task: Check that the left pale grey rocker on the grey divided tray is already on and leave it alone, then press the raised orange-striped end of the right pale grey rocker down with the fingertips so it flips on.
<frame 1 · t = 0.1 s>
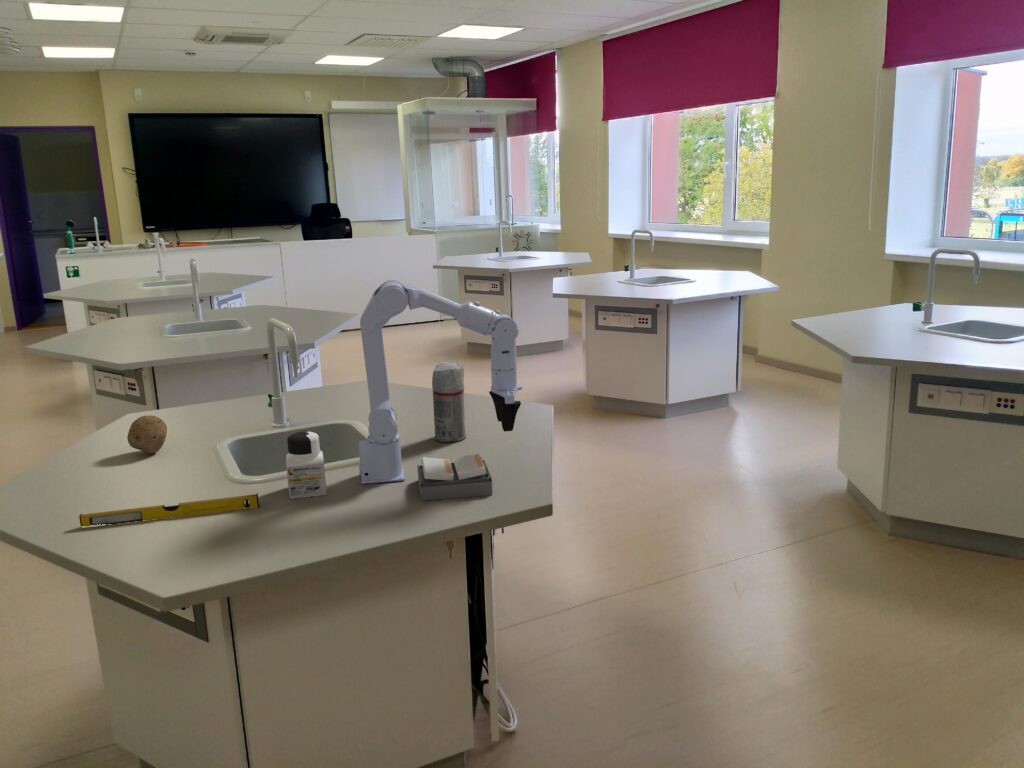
hand: (505, 425, 182), 10 cm above the countertop, tool pointing down, fingers open, 7 cm apart
rocker right: (469, 465, 172), point 5 cm above the countertop, hinge at -10.0°
grey divided tray: (454, 487, 173), on the countertop
brown potato: (150, 454, 198), on the countertop
container: (307, 491, 172), on the countertop
spirit level: (173, 519, 161), on the countertop
spray can: (450, 438, 206), on the countertop
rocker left: (437, 468, 171), point 5 cm above the countertop, hinge at 10.0°
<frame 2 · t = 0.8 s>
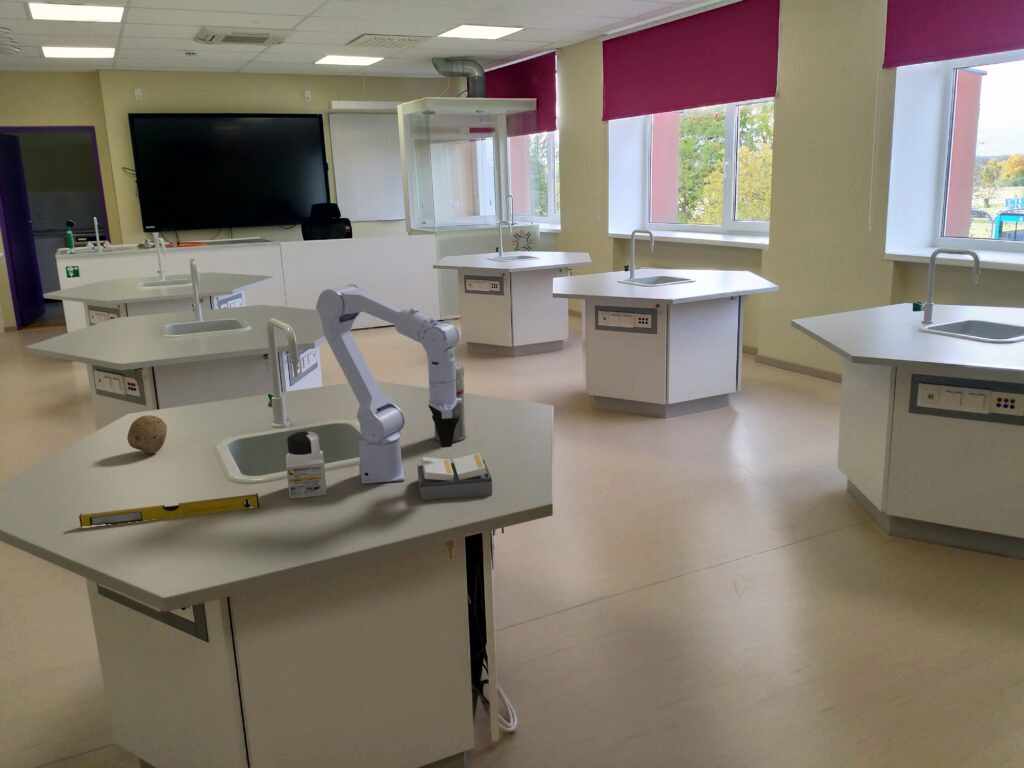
hand: (444, 441, 171), 10 cm above the countertop, tool pointing down, fingers open, 7 cm apart
nothing on the countertop moved.
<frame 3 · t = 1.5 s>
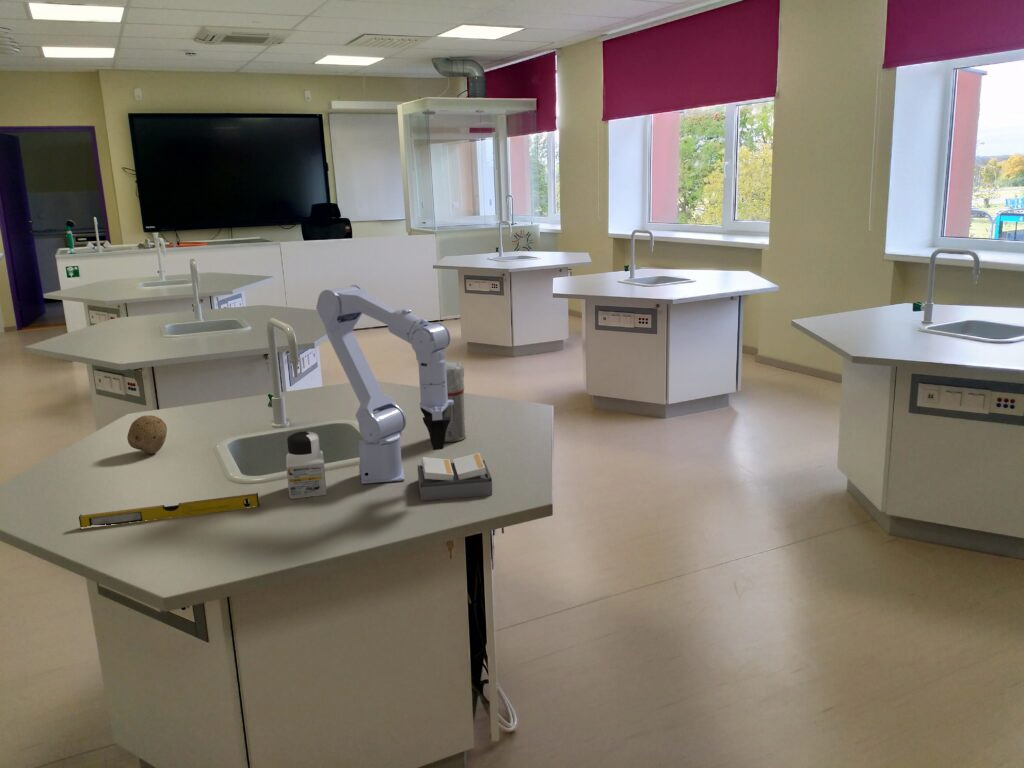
hand: (436, 443, 169), 10 cm above the countertop, tool pointing down, fingers open, 7 cm apart
nothing on the countertop moved.
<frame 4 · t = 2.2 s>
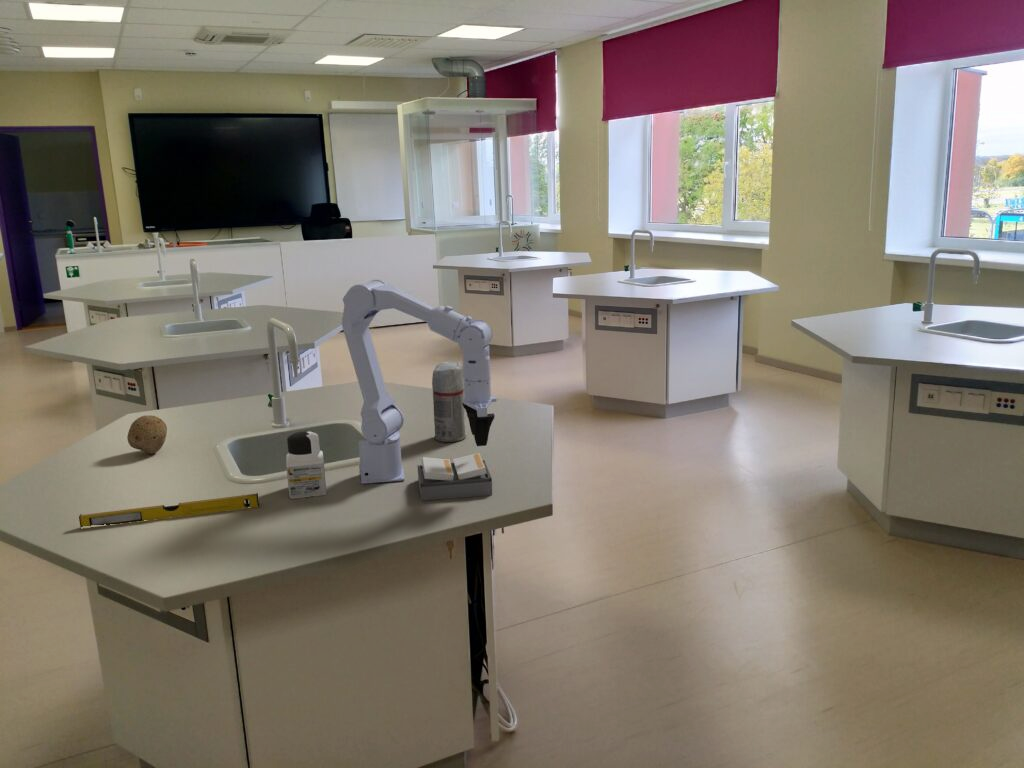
hand: (479, 439, 171), 10 cm above the countertop, tool pointing down, fingers open, 7 cm apart
nothing on the countertop moved.
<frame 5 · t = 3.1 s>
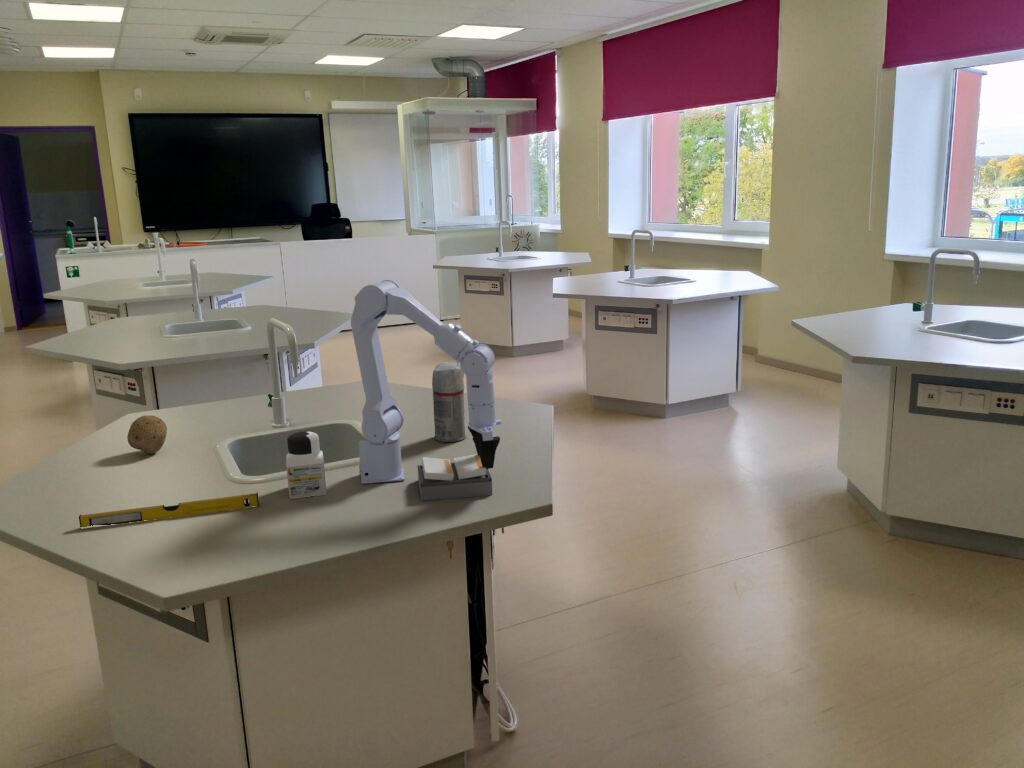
hand: (485, 462, 172), 5 cm above the countertop, tool pointing down
rocker right: (469, 465, 172), point 5 cm above the countertop, hinge at -6.4°, touching gripper
everything else where it was.
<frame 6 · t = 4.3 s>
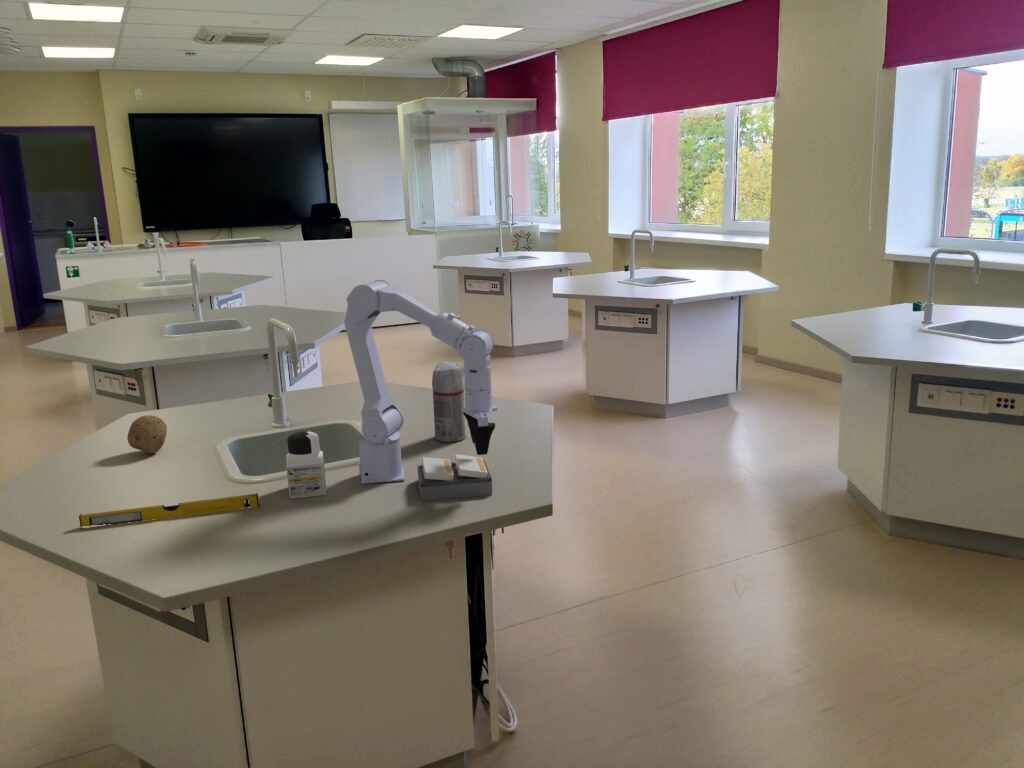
hand: (479, 448, 172), 8 cm above the countertop, tool pointing down, fingers open, 7 cm apart
rocker right: (470, 465, 172), point 5 cm above the countertop, hinge at 12.3°
everything else where it was.
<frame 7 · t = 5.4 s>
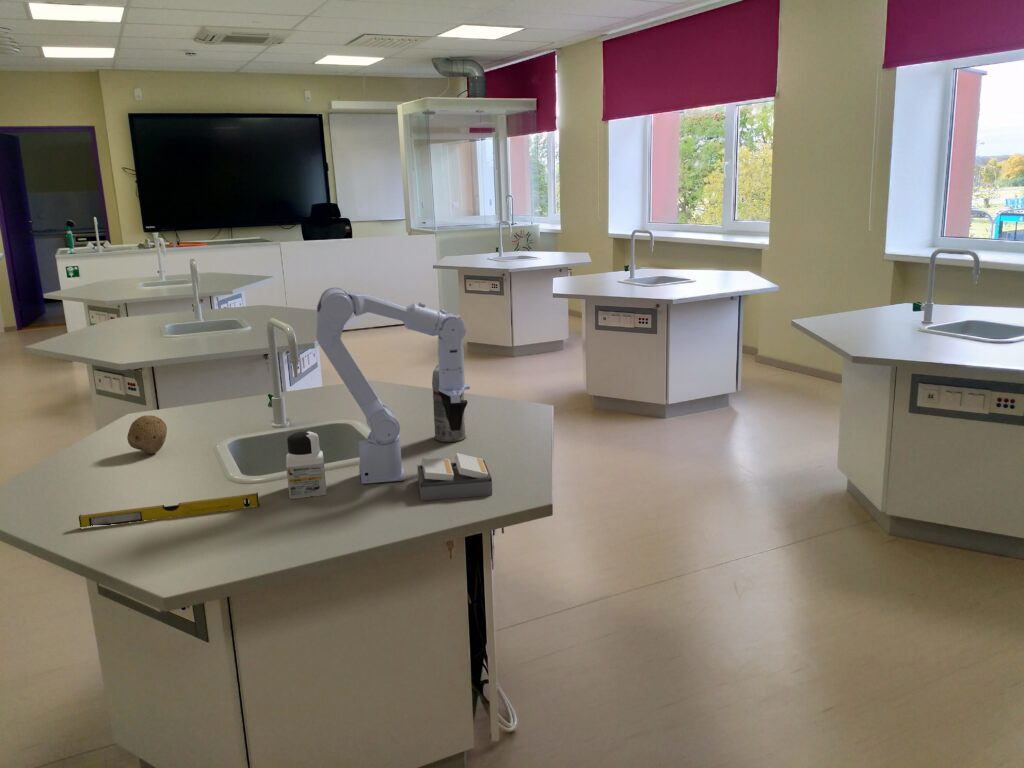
hand: (453, 425, 182), 10 cm above the countertop, tool pointing down, fingers open, 7 cm apart
rocker right: (471, 465, 172), point 5 cm above the countertop, hinge at 18.3°, touching grey divided tray
everything else where it was.
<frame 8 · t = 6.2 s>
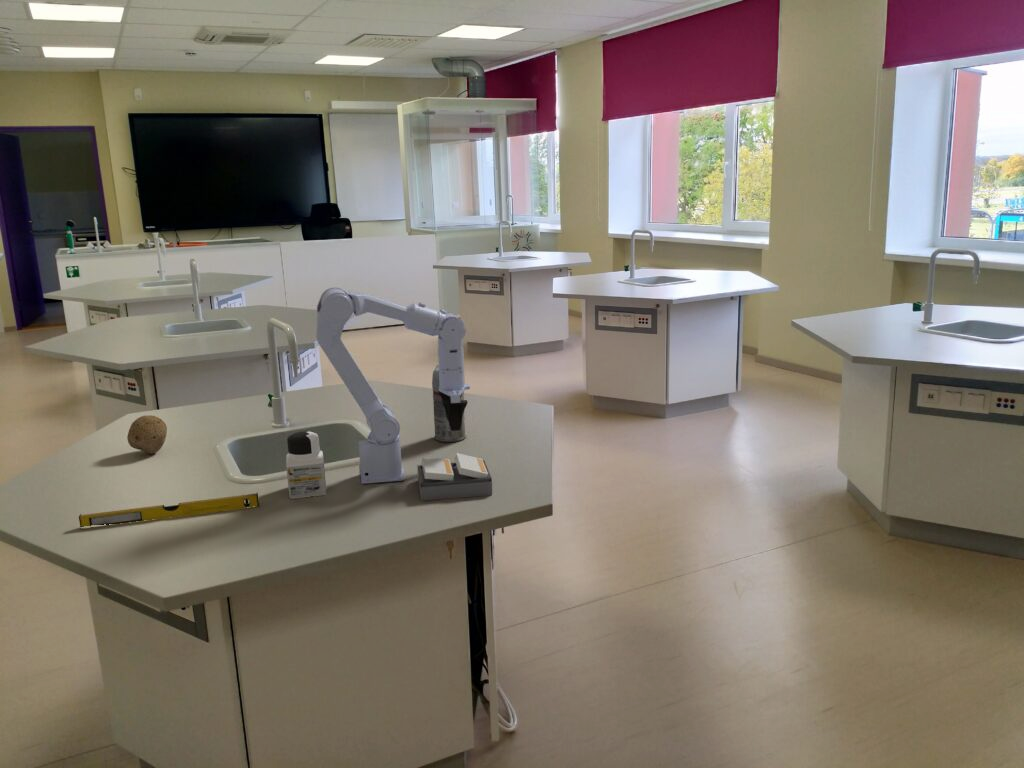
hand: (453, 425, 182), 10 cm above the countertop, tool pointing down, fingers open, 7 cm apart
nothing on the countertop moved.
at the end: rocker right at +18° (first picture: -10°); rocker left at +10° (first picture: +10°) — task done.
